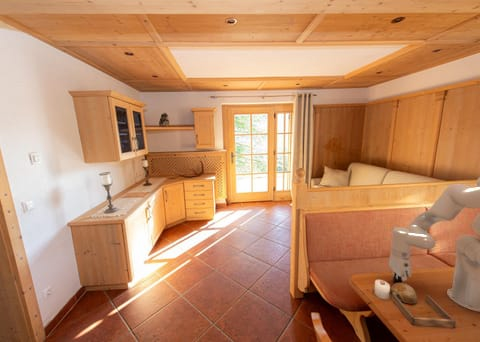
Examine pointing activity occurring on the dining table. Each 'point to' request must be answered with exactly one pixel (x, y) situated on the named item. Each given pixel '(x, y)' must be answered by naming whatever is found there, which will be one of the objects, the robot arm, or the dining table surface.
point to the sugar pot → (382, 289)
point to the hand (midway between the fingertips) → (397, 284)
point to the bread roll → (404, 292)
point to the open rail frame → (445, 322)
